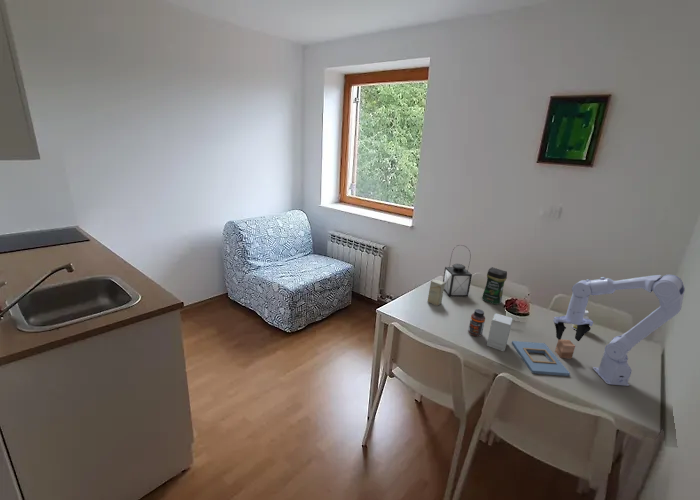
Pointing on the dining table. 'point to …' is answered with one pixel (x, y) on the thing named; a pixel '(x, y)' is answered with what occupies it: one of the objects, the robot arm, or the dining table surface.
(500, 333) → the supplement box
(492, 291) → the coffee jar
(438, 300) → the skincare box
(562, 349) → the block
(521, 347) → the blue board with hole
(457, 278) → the lantern
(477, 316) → the supplement bottle
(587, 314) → the supplement bottle
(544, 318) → the dining table surface
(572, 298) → the robot arm
